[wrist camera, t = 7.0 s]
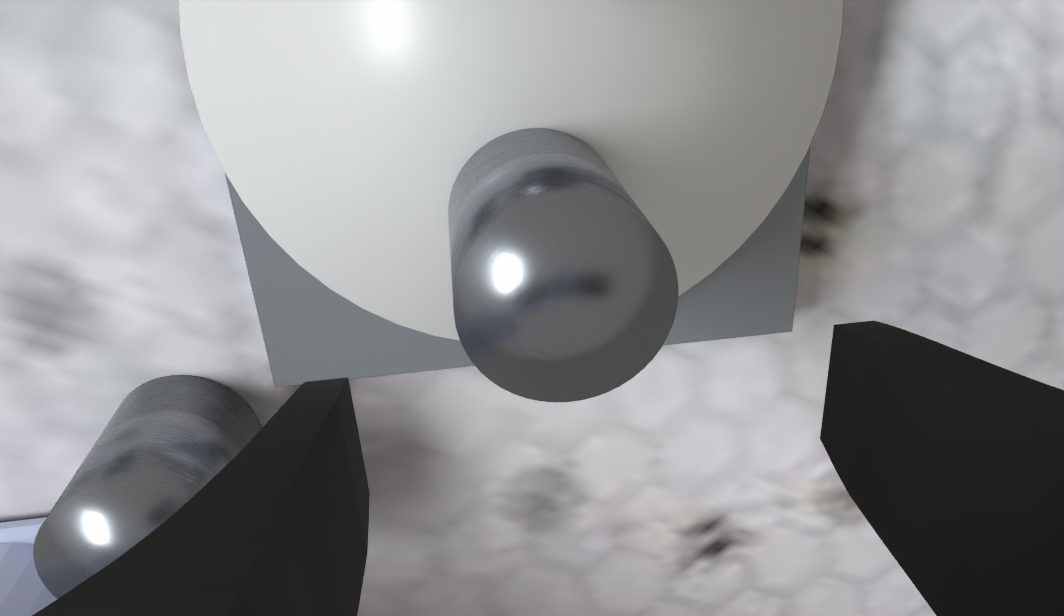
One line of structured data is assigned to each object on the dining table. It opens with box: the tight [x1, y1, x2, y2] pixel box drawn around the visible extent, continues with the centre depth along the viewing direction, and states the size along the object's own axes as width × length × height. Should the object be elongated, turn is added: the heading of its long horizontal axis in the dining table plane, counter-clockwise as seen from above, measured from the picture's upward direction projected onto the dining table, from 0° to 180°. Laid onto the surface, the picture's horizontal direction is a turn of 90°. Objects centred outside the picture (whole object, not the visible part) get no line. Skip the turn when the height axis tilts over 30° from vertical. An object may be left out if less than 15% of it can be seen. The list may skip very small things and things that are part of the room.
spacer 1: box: [33, 375, 261, 599], centre depth 20 cm, size 4×4×5 cm
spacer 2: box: [448, 128, 678, 402], centre depth 16 cm, size 4×4×5 cm
